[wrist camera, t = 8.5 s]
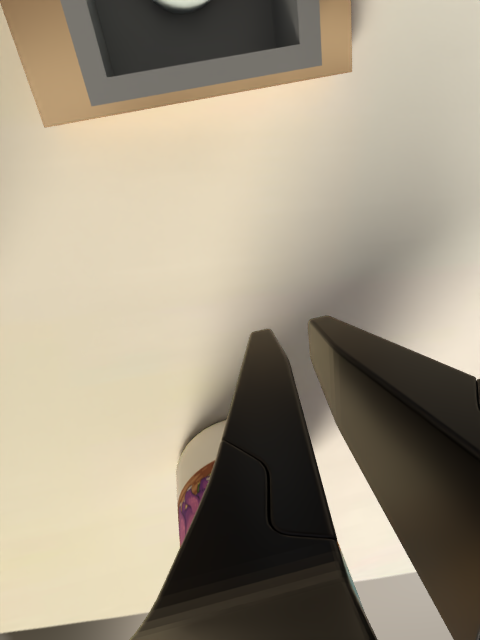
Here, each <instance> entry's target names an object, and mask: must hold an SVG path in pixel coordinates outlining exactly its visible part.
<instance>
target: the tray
mask: <svg viewBox="0 0 480 640" xmlns="http://www.w3.org/2000/svg"><path fill="white" fill-rule="evenodd" d="M60 1H61V5H62V8H63V11H64V15H65V18H66V22H67V25H68V28H69V32H70V35H71V39H72V42H73V45H74V49H75V52H76V56H77V59H78V62H79V66H80V69H81V73H82V76H83V79H84V83H85V86H86V90H87V93H88V96H89V100H90V103H91V107H92V106H97V105H103V104H109V103H114V102H120V101H125V100H131V99H137V98H142V97H148V96H153V95H159V94H165V93H170V92H176V91H182V90H187V89H193V88H198V87H204V86H210V85H215V84H221V83H226V82H232V81H238V80H243V79H249V78H254V77H260V76H266V75H271V74H277V73H282V72H288V71H294V70H299V69H305V68H311V67H316V66H322V51H321V28H320V4H319V0H60Z"/></svg>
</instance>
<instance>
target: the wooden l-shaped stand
mask: <svg viewBox="0 0 480 640" xmlns="http://www.w3.org/2000/svg"><path fill="white" fill-rule="evenodd" d="M0 3H1V6H2V9H3V11H4V14H5V17H6V20H7V23H8V26H9V28H10V31H11V34H12V37H13V40H14V42H15V45H16V48H17V51H18V54H19V57H20V59H21V62H22V65H23V68H24V71H25V74H26V76H27V79H28V82H29V85H30V88H31V91H32V93H33V96H34V99H35V102H36V105H37V107H38V110H39V113H40V116H41V119H42V122H43V124H44V127H51V126H56V125H62V124H67V123H73V122H78V121H84V120H89V119H95V118H100V117H106V116H111V115H117V114H122V113H128V112H133V111H139V110H144V109H150V108H155V107H161V106H166V105H172V104H177V103H183V102H188V101H194V100H199V99H205V98H210V97H216V96H221V95H227V94H232V93H238V92H243V91H249V90H254V89H260V88H265V87H271V86H276V85H282V84H287V83H293V82H298V81H304V80H309V79H315V78H320V77H326V76H331V75H337V74H342V73H348V72H352V42H351V0H319V4H320V28H321V51H322V66H316V67H311V68H305V69H299V70H294V71H288V72H282V73H277V74H271V75H266V76H260V77H254V78H249V79H243V80H238V81H232V82H226V83H221V84H215V85H210V86H204V87H198V88H193V89H187V90H182V91H176V92H170V93H165V94H159V95H153V96H148V97H142V98H137V99H131V100H125V101H120V102H114V103H109V104H103V105H97V106H92V107H91V103H90V100H89V96H88V93H87V90H86V86H85V83H84V79H83V76H82V73H81V69H80V66H79V62H78V59H77V56H76V52H75V49H74V45H73V42H72V39H71V35H70V32H69V28H68V25H67V22H66V18H65V15H64V11H63V8H62V5H61V1H60V0H0Z"/></svg>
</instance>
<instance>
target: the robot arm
mask: <svg viewBox="0 0 480 640" xmlns="http://www.w3.org/2000/svg"><path fill="white" fill-rule="evenodd" d="M308 336H309V348H310V357H311V361H312V364H313V367H314V369H315V372H316V374H317V377H318V379H319V382H320V384H321V387H322V389H323V392H324V394H325V397H326V400H327V402H328V405H329V407H330V410H331V412H332V415H333V417H334V420H335V422H336V424H337V426H338V428H339V430H340V432H341V434H342V436H343V438H344V440H345V441H346V443H347V445H348V447H349V449H350V451H351V452H352V454H353V456H354V458H355V460H356V462H357V463H358V465H359V467H360V469H361V471H362V473H363V474H364V476H365V478H366V480H367V482H368V484H369V485H370V487H371V489H372V491H373V493H374V495H375V496H376V498H377V500H378V502H379V504H380V505H381V507H382V509H383V511H384V513H385V515H386V516H387V518H388V520H389V522H390V524H391V526H392V527H393V529H394V531H395V533H396V535H397V537H398V538H399V540H400V542H401V544H402V546H403V548H404V549H405V551H406V553H407V555H408V557H409V558H410V560H411V562H412V564H413V566H414V568H415V569H416V571H417V573H418V575H419V577H420V579H421V580H422V582H423V584H424V586H425V588H426V589H427V591H428V593H429V595H430V597H431V598H432V600H433V602H434V604H435V606H436V608H437V609H438V611H439V613H440V615H441V617H442V619H443V621H444V622H445V624H446V626H447V628H448V630H449V632H450V633H451V635H452V637H453V639H454V640H480V379H478V380H477V381H476V378H475V377H474V376H472V375H469V374H467V373H464V372H462V371H460V370H457V369H455V368H452V367H450V366H448V365H445V364H443V363H440V362H438V361H436V360H433V359H431V358H429V357H426V356H424V355H421V354H419V353H417V352H414V351H412V350H409V349H407V348H405V347H402V346H400V345H398V344H395V343H393V342H390V341H388V340H386V339H383V338H381V337H378V336H376V335H374V334H371V333H369V332H366V331H364V330H362V329H359V328H357V327H355V326H352V325H350V324H347V323H345V322H343V321H340V320H338V319H335V318H333V317H331V316H322V317H318V318H313V319H310V320H309V322H308ZM130 640H377V638H376V636H375V634H374V631H373V629H372V627H371V625H370V623H369V621H368V619H367V617H366V615H365V613H364V610H363V608H362V606H361V604H360V602H359V600H358V598H357V596H356V594H355V592H354V589H353V587H352V585H351V583H350V580H349V577H348V574H347V571H346V568H345V565H344V562H343V559H342V555H341V552H340V548H339V545H338V543H337V537H336V533H335V529H334V526H333V522H332V518H331V514H330V511H329V507H328V503H327V500H326V496H325V492H324V488H323V485H322V481H321V477H320V473H319V470H318V466H317V462H316V459H315V455H314V451H313V447H312V444H311V440H310V436H309V433H308V429H307V425H306V421H305V418H304V414H303V410H302V407H301V403H300V399H299V395H298V392H297V388H296V384H295V381H294V377H293V373H292V369H291V366H290V363H289V360H288V357H287V356H286V354H285V352H284V350H283V349H282V347H281V345H280V344H279V342H278V340H277V339H276V337H275V335H274V334H273V332H272V331H271V330H270V329H264V330H260V331H255V332H252V333H251V334H250V337H249V341H248V344H247V348H246V352H245V355H244V359H243V363H242V366H241V370H240V374H239V377H238V381H237V384H236V388H235V392H234V395H233V399H232V403H231V406H230V410H229V413H228V417H227V421H226V424H225V428H224V432H223V435H222V439H221V442H220V445H219V449H218V452H217V456H216V460H215V463H214V466H213V469H212V472H211V475H210V478H209V481H208V484H207V486H206V489H205V491H204V494H203V496H202V499H201V501H200V504H199V506H198V509H197V511H196V513H195V515H194V518H193V520H192V522H191V524H190V527H189V529H188V531H187V533H186V536H185V538H184V540H183V542H182V545H181V547H180V549H179V551H178V554H177V556H176V558H175V560H174V563H173V565H172V567H171V569H170V571H169V574H168V576H167V578H166V580H165V583H164V585H163V587H162V589H161V591H160V593H159V595H158V598H157V600H156V602H155V603H154V605H153V607H152V609H151V611H150V612H149V614H148V616H147V617H146V619H145V620H144V622H143V623H142V625H141V626H140V627H139V629H138V630H137V631H136V633H135V634H134V635H133V636H132V637H131V638H130Z"/></svg>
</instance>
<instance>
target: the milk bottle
mask: <svg viewBox="0 0 480 640" xmlns="http://www.w3.org/2000/svg"><path fill="white" fill-rule="evenodd" d="M226 421H227V420H224V421H222V422H219V423H216V424H214V425H212V426H210V427H208V428H206V429H204V430H203V431H202V432H200V433H199V434H197V435H196V436H195V437H194V438H193V439H192V440H191V441H190V442H189V443H188V444H187V446H186V448H185V449H184V451H183V452H182V454H181V457H180V459H179V461H178V465H177V470H176V481H177V504H178V521H179V537H180V547H181V545H182V542H183V540H184V538H185V536H186V533H187V531H188V529H189V527H190V524H191V522H192V520H193V518H194V515H195V513H196V511H197V509H198V506H199V504H200V501H201V499H202V496H203V494H204V491H205V489H206V486H207V484H208V481H209V478H210V475H211V472H212V469H213V466H214V463H215V460H216V456H217V452H218V449H219V445H220V442H221V439H222V435H223V432H224V428H225V424H226ZM337 543H338V541H337ZM338 545H339V544H338ZM339 548H340V547H339ZM340 552H341V549H340ZM341 555H342V559H343V562H344V565H345V568H346V571H347V574H348V577H349V580H350V583H351V585H352V587H353V589H354V592H355V594H356V596H357V598H358V600H359V602H360V604H361V601H360V598H359V596H358V593H357V591H356V588H355V586H354V583H353V580H352V578H351V575H350V573H349V570H348V567H347V565H346V562H345V560H344V557H343V554H342V552H341ZM361 606H362V604H361ZM362 608H363V607H362ZM363 610H364V609H363ZM364 613H365V612H364Z"/></svg>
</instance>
